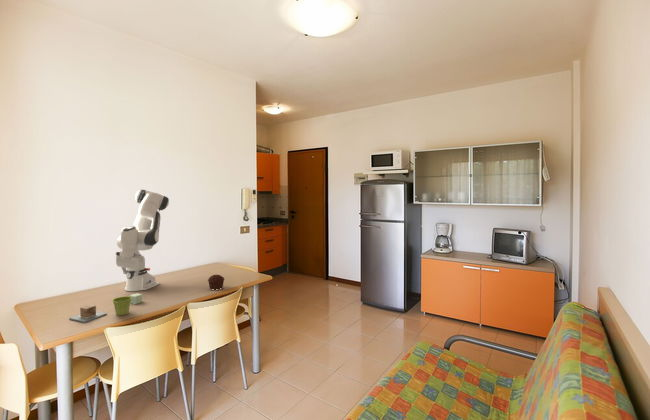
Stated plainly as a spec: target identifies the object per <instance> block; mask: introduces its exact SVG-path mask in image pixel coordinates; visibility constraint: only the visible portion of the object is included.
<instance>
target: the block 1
mask: <svg viewBox="0 0 650 420" xmlns="http://www.w3.org/2000/svg"><path fill="white" fill-rule="evenodd" d="M79 309H80V313H79V314H80V316H81V317H86V318H87V317H90V316H93V315H96V311H97V306H96V305H94V304H87V305H84V306H81V307H79Z"/></svg>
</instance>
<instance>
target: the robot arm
mask: <svg viewBox="0 0 650 420" xmlns="http://www.w3.org/2000/svg"><path fill="white" fill-rule="evenodd" d="M135 202H136V203H138V204H140V205H139V208H138V214H137V215H136V218H135V221H134V222H133V226H130V225H129V226H125V227H123V228H122V229H121V231H120V232H121V233H120V236H119V237H118V238H117V240H116V246H117V247H118V248H119V249H120V250H119V251H116V252H115V263H116V264H115V265H116V266H117V267H120V268H121V271H122V273H123V275H126V284H125V287H124V291H126V292H139V291H146V290H149V289H152V288H153V287H156V286H159V285H160V282H158V281H156V277H155V275H153V274H151V273H150V271H151V268H150V267H146V259H145V256H144V255H143V254H141V253H140V251H149V250H151V249H153V247H154V246H155V245H156V244H157V243H158V242H159V239H160V238H159V237H160V236H159V235H160V234H159V233H160V226H161V213H160V211H164V210H166V208H167V207H168V206H169V204H170V198H168V197H167V196H165V195H162V194H161V193H157V192H154V191H149V190H146V189H139V190H138V191H137V192H136V193H135Z"/></svg>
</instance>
